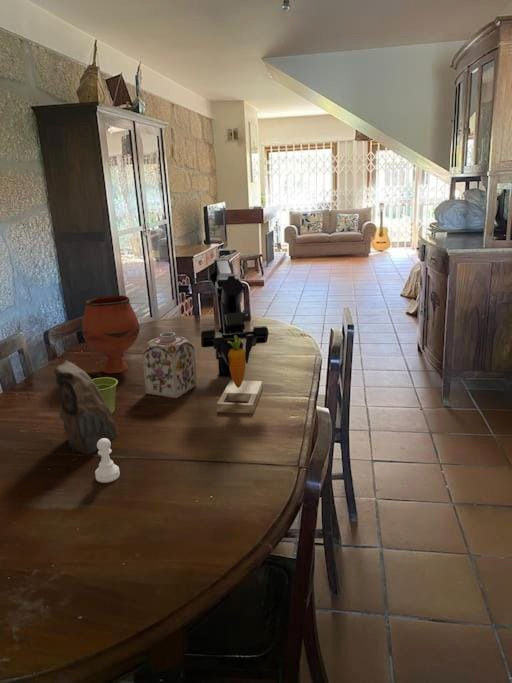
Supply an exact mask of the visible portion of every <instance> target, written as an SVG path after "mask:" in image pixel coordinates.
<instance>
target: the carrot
mask: <svg viewBox="0 0 512 683" xmlns="http://www.w3.org/2000/svg"><path fill="white" fill-rule="evenodd" d="M234 339H235V342H233V343H232V342H231V341H228V343H229V344H231V345H232V346H233V349H230V350H229V353H228V358H229V369H230V373H231V377H230V378H231V380H233V382H234V384H235V385H236V387H238V388H239V387H240V386H241V384H242V381H244V378H245V372H246V371H245V370H246V360H245V349H244V348H243V349H241V348H239V346H240V342H242V339H240V338H239V340H238V337H237V335H234Z"/></svg>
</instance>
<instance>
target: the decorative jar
mask: <svg viewBox="0 0 512 683" xmlns="http://www.w3.org/2000/svg"><path fill="white" fill-rule="evenodd" d="M195 354H196V353H195V345H194V344H193V343H192V342H191V341H190V340H188V339H187V338H186V337H184V336H176V333H175V332H173V331H170V332H169V331H168V332H163V333H160V334H159V337H156V338H153V339H151V340H149V341H148V342H147V344H146V346H145V347H144V349H143V350H142V354H141V355H142V365H143V366H142V367H143V376H144V377H143V378H144V385H145V394H147V395H154V396H160V397H166V398H171V399H178V398H180V397H181V396H182V395H184V394H186V393H187V392H189V391H190V390H192V389H194V388H195V387H197V385H198V384H197V368H196V365H197V364H196V355H195Z"/></svg>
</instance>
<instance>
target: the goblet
mask: <svg viewBox="0 0 512 683" xmlns="http://www.w3.org/2000/svg"><path fill="white" fill-rule="evenodd" d="M85 304H86V305H85V309H84V313H83V317H82V321H81V332H82V333H81V334H82V336H83V339H84V341H85V342H86V343H87V344H88V345H89V346H90V347H91V348H92V349H93V350H95V351H97V352H99V353H101V354H104V355H105V357H106V358H107V359H108V360H107V361H106V363H105V364H104V365H103V368H102V372H103V373H104V374H119V373H123V372H125V371H126V370H128V369H129V366H128V364H127V363H126V362H125V361H124V360H123V359H122V358H123V357H124V353H125V352H126V351H128V350H129V349H130V348H131V347H132V346H133V345H134V343H135V342H136V341H137V338H138V337H139V335H140V334H139V333H140V330H141V327H140V323H139V320H138V317H137V314H136V313H135V311H134V308H133V307H132V305H131V302H130V298H129V297H128V296H127V295H123V294H122V295H115V294H114V295H106V296H99V297H95V298H92V299H88V300H86V301H85Z"/></svg>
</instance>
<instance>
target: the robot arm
mask: <svg viewBox="0 0 512 683" xmlns="http://www.w3.org/2000/svg"><path fill="white" fill-rule="evenodd" d="M233 266H234V265H233V264H232V263H231V262H230V258H227V257H225V258H224V257H223V258H216V259H213V263H211V264H209V265H208V267H207V276H208V277H207V279H208V281H209V282H210V287H211V288H212V290H213V291H214V292H215V295H216V300H217V301H216V303H217V310H218V311H217V312H218V313H217V314H218V320H219V329H218V331H217V332H216V329H215V328H214V329H209V328H208V329H202V330H201V332H200V344H201V348H213V349H214V356H215V359H216V360H218V362H217V363H218V364H217V365H218V373H217V377H218V378H232V377H231V373H230V369H229V358H228V353H229V350H230V349H233V346H232V345H231V344H229V343H228V341H231V342H232V343H233V342H235V339H234V335H237V337H238V340H239V338H240V339H241V340H245V345H244V343H243V342H242V341H241V342H240V346H239V348H241V349H244V347H245V349H244V350H245V365H247V364H248V363H249V357H250V355H251V350H252V349H253V347H256V346H257V344H265V343H267V342H268V338H269V334H270V333H269V329H268V328H269V327H267V326H266V325H259V326H257V325H256V326H253V327H252V328H253V329H252V330H251V331H245V328H246V324H245V323H250V322H251V319H252V318H251V311H250V309H243V310H242V306H241V302H242V299H243V292H244V291H245V290H246V287H245V285H244V283H243V282H242V280H240V279H239V277H238V275H237V274H234V267H233Z"/></svg>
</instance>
